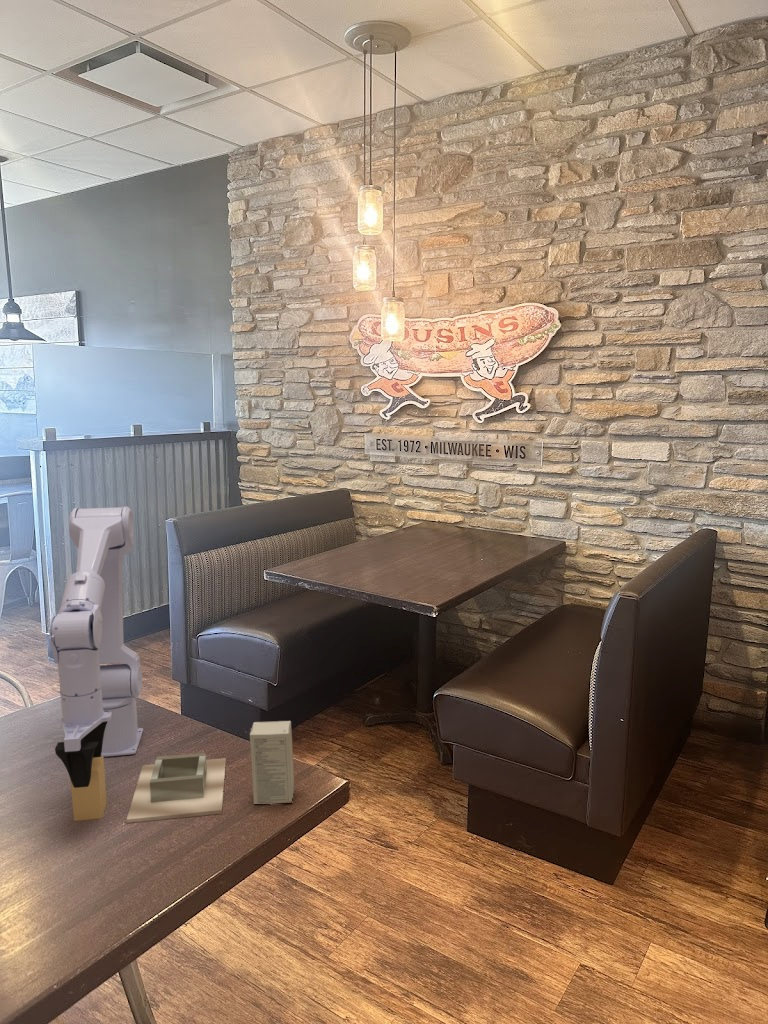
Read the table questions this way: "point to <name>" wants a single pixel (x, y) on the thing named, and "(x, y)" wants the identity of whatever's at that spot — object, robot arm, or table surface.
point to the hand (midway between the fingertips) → (87, 772)
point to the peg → (91, 794)
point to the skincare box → (272, 762)
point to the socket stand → (178, 788)
